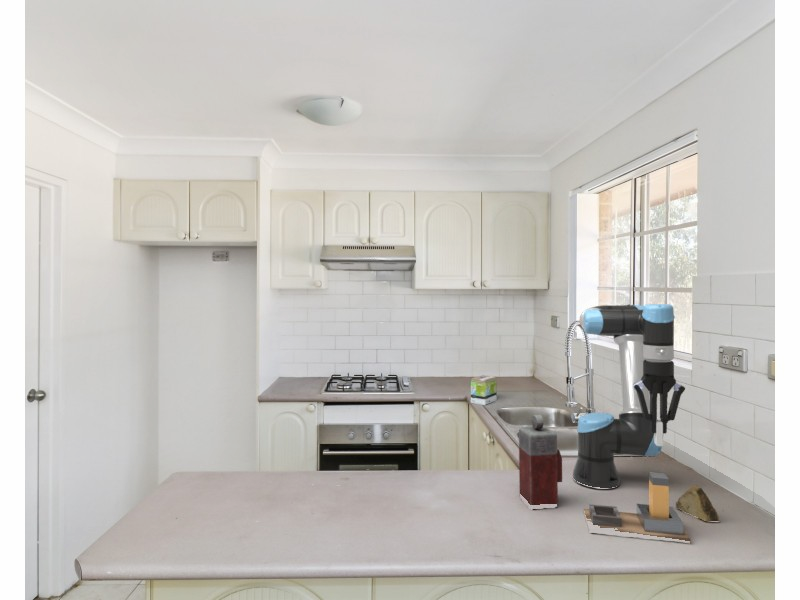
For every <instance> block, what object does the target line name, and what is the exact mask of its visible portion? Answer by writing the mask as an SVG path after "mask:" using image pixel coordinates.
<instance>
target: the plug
mask: <svg viewBox="0 0 800 600" xmlns="http://www.w3.org/2000/svg"><path fill="white" fill-rule="evenodd" d="M669 481H670V479H669V477H668V476H667V474H666V472H665V473H664V472H652V471H650V472H649V471H648V496H649V497H648V505H649V514H650V516H653V517H664V518H669V507H670V501H669V500H670V482H669Z"/></svg>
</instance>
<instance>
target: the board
mask: <svg viewBox="0 0 800 600" xmlns="http://www.w3.org/2000/svg"><path fill="white" fill-rule="evenodd" d="M584 511H585V515H586V518H587V519H591V520H587V521H590V522H592V523H593V525H598V526H600V528H614V529H615V528H617V529H618V530H615V531H620V532H629V533H637V534H643V535H650V536H657V537H665V538H672V539H679V540H685V541H690V542H691V537H690V535H689V533H687V531H686V530H685V527H683V536H682V535H672V534H663V533H653V532H645V531H644V529H643V527H642V525H641V523H640V521H639V519H638V517H637V512H624V511H619V509H618V506H613V505H602V504H592V503H591V504H590V503H589V508H583V512H584Z"/></svg>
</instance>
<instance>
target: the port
mask: <svg viewBox="0 0 800 600" xmlns="http://www.w3.org/2000/svg"><path fill="white" fill-rule="evenodd" d="M636 514H637V517H638V519H639V521H640V523H641V525H642V527H643V529H644V531H645V532H653V533H663V534H672V535H682V536H683V528H684V521H683V520H682V519H681V517H680V515H679V514H678V512H677V511H676V510H675V508H674V507H673V506H669V518H664V517H653V516H650V514H649V504H647V503H646V504H645V503H636Z"/></svg>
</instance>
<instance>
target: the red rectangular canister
mask: <svg viewBox="0 0 800 600" xmlns="http://www.w3.org/2000/svg"><path fill="white" fill-rule="evenodd" d="M518 458H519V459H518V460H519V462H518V464H519V467H518V468H519V470H518V471H519V472H518V473H519V475H518V476H519V482H518V483H519V495H520V494H521V495H522V496H523V497H524V498H525V499H526V500H527V501H528V503H529V504H530V505H540V504H557V503H559V502H558V501H559V500H558V497H559V495H558V494H559V493H558V487H559V486H558V483H563V457H562V454H561V451H560V450H559V449H558V434H557V433H556V432H554V431H553V430H551V429H550V428H549V427H547V426H546V425H544V419H543V416H542V415H541V414H533V415H532V416H531V426H529V425H528V426H521V427H519V428H518Z"/></svg>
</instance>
